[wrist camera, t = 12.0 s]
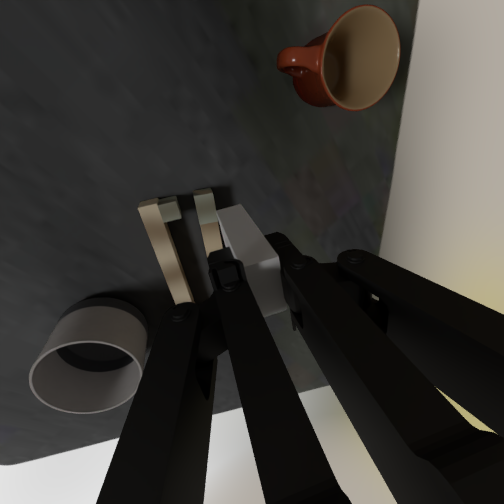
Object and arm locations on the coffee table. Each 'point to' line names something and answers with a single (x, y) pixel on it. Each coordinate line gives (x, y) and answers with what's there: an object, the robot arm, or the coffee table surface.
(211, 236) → the tongs jaw
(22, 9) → the coffee table surface
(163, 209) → the tongs fixed
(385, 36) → the mug
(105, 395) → the planter
